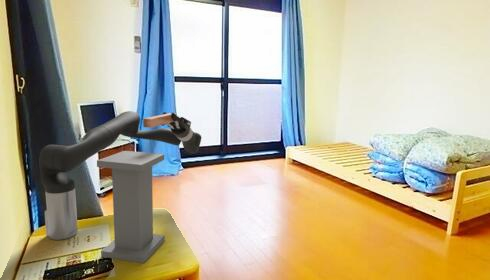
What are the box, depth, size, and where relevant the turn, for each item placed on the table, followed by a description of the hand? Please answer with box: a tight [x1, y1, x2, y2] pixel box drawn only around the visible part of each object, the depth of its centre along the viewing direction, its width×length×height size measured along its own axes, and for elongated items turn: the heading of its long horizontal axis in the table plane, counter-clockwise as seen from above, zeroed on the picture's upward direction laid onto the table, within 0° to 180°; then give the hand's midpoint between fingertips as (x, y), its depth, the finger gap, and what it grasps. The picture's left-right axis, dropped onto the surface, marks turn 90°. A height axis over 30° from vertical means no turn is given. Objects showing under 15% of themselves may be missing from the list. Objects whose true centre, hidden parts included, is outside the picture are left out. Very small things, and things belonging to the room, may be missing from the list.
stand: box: [96, 150, 166, 264], centre depth 105 cm, size 15×15×32 cm
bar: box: [142, 112, 178, 129], centre depth 121 cm, size 3×22×3 cm, turn 169°
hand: (168, 114), depth 127 cm, fingers closed on bar, 3 cm apart
